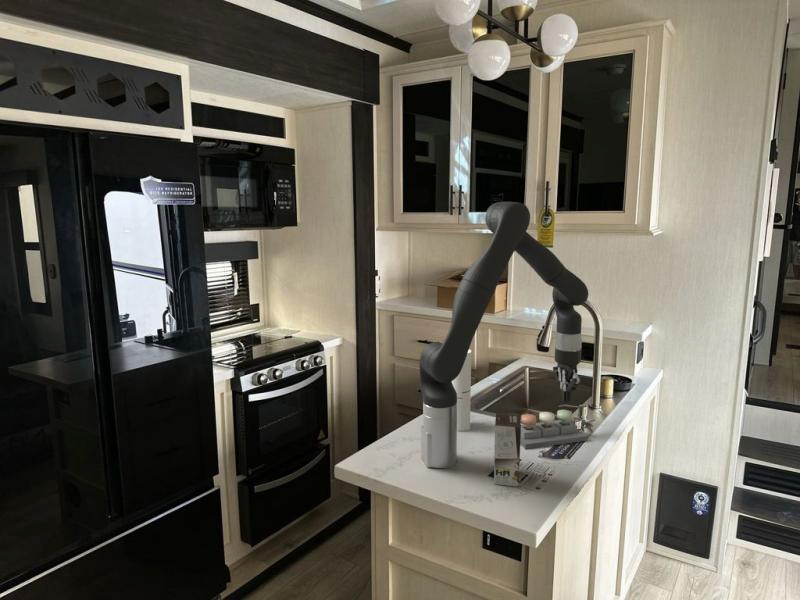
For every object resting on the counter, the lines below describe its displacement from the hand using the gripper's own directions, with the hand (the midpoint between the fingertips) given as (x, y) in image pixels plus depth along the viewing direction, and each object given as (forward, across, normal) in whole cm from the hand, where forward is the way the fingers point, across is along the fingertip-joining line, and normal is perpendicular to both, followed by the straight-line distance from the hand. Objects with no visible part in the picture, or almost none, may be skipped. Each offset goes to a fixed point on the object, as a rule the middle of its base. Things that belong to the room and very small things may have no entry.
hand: (565, 401), depth 166 cm
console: (+10, 0, -6) cm, 12 cm away
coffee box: (+10, +19, -28) cm, 36 cm away
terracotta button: (+7, 0, -12) cm, 14 cm away
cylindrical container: (+10, -14, -29) cm, 34 cm away
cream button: (+7, 0, -6) cm, 9 cm away
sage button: (+7, 0, 0) cm, 7 cm away
